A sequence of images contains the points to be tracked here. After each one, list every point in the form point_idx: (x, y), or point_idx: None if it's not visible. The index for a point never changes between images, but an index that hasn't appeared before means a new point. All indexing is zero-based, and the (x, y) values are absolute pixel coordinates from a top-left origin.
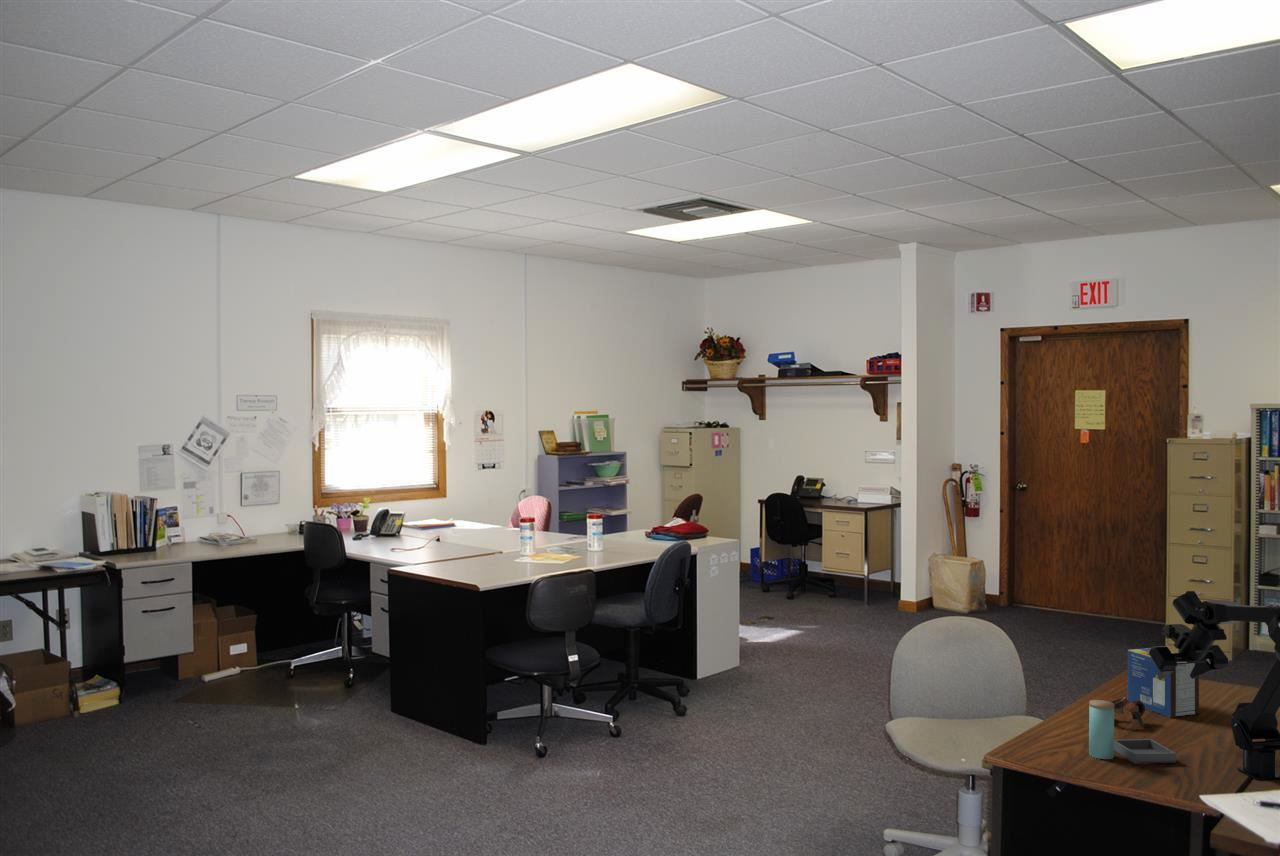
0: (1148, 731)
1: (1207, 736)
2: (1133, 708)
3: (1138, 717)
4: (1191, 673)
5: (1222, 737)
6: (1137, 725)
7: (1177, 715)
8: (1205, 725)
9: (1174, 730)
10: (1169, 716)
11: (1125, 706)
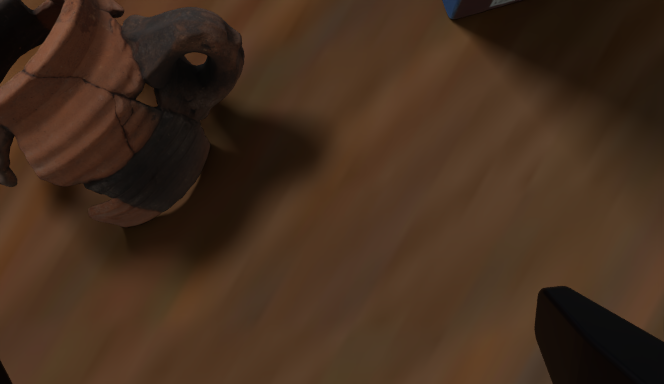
0: (187, 250)
1: (485, 347)
2: (82, 161)
3: (130, 191)
4: (567, 333)
5: None
6: (128, 218)
7: (502, 3)
8: (584, 149)
9: (350, 235)
10: (449, 11)
11: (21, 148)
